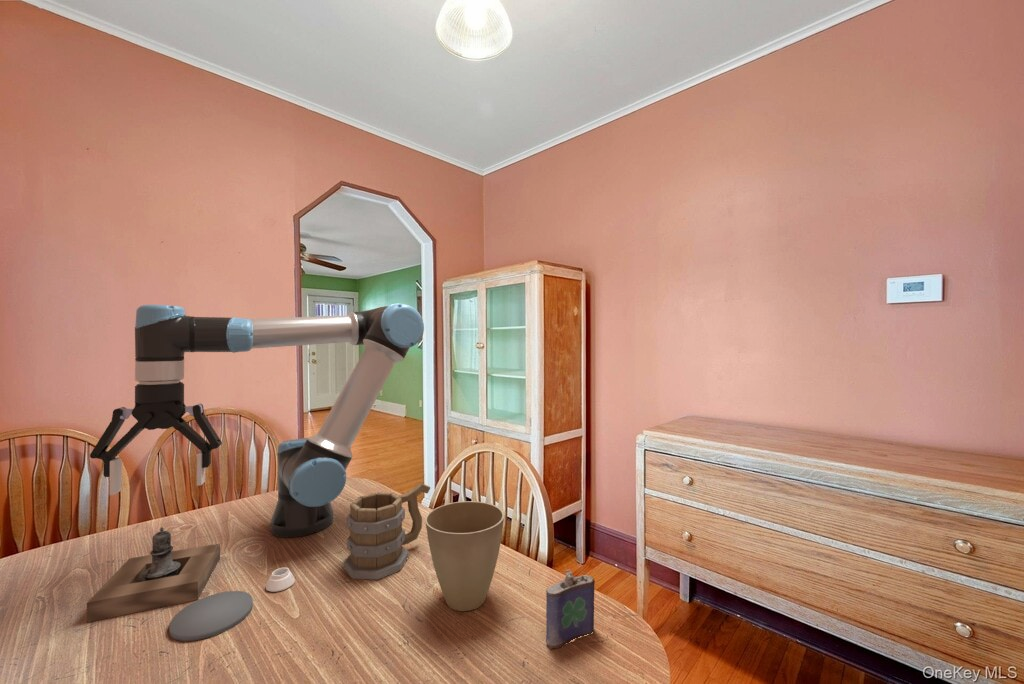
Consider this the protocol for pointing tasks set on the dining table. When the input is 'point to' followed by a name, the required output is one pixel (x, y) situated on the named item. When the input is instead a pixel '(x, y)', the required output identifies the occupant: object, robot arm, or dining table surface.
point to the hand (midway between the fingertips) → (159, 488)
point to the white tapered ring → (280, 580)
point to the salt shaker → (161, 557)
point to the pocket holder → (154, 584)
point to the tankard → (380, 533)
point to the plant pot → (465, 550)
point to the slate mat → (210, 616)
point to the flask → (569, 609)
